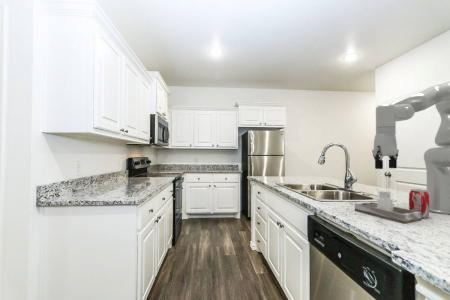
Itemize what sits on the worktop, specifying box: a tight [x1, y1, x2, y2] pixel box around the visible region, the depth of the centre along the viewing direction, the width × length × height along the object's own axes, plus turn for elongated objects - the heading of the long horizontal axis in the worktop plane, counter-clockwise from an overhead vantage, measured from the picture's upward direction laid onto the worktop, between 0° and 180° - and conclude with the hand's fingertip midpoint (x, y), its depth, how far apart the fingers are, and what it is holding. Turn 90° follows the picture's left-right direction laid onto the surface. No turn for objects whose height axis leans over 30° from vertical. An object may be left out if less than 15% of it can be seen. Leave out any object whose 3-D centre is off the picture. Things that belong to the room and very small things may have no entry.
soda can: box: [408, 188, 430, 219], centre depth 104 cm, size 7×7×12 cm
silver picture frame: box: [354, 201, 423, 224], centre depth 105 cm, size 12×22×4 cm, turn 23°
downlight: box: [376, 190, 395, 212], centre depth 106 cm, size 8×7×10 cm
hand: (386, 168), depth 106 cm, fingers open, 9 cm apart
